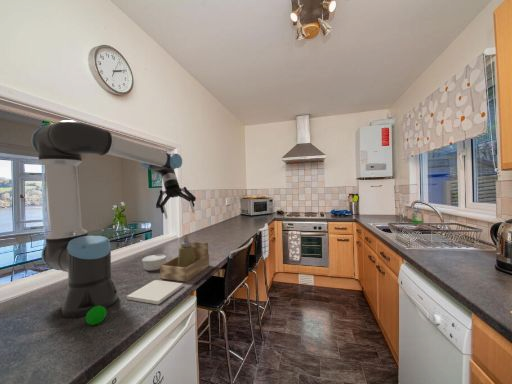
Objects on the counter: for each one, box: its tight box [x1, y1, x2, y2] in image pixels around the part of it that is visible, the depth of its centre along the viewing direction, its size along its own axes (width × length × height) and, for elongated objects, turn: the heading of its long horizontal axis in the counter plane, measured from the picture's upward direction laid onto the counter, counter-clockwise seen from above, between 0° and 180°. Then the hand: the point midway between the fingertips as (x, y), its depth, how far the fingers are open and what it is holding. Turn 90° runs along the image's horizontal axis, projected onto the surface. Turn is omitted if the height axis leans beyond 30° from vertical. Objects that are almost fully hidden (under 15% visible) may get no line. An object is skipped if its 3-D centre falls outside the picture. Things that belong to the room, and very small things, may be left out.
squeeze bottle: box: [177, 234, 195, 268], centre depth 100 cm, size 8×8×18 cm
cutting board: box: [126, 279, 184, 305], centre depth 80 cm, size 14×14×1 cm
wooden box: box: [159, 241, 210, 283], centre depth 100 cm, size 14×20×12 cm
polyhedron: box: [84, 306, 108, 326], centre depth 62 cm, size 5×5×5 cm
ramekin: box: [141, 254, 167, 272], centre depth 107 cm, size 11×11×5 cm
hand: (180, 214), depth 106 cm, fingers open, 13 cm apart
